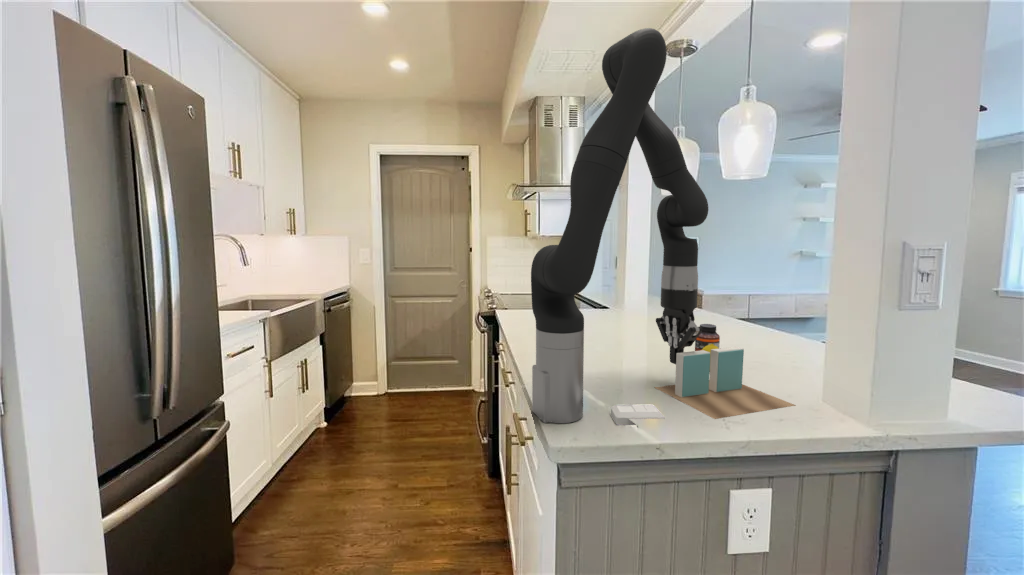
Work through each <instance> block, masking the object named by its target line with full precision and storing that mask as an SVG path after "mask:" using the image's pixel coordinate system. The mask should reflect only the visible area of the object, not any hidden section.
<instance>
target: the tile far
mask: <svg viewBox="0 0 1024 575" xmlns="http://www.w3.org/2000/svg"><path fill="white" fill-rule="evenodd" d="M744 352H745V350H744V348H742V347H739V346H731V347H721V348H720V347H719V349H711V358H710V372H709V390H712V391H714V392H722V391H729V390H736V389H741V388H742V384H743V373H744V372H743V370H744V356H745V355H744Z"/></svg>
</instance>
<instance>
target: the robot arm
mask: <svg viewBox="0 0 1024 575" xmlns="http://www.w3.org/2000/svg"><path fill="white" fill-rule="evenodd" d="M667 51H668V50H667V44H666V40H665V38H664V37H663V34H662V33H661V32H660V31H658V30H657V29H655V28H652V27H645V28H640V29H639V30H636V31H634V32H632V33H630V34H627V36H625V37H623V38H622V39H620V40H618V41H616V42H615V43H613V44H612V45H610V47H608V49H607V50H605V52H604V54H603V57H602V62H601V70H602V71H601V72H602V74H603V77H604V81H605V83H606V85H607V87H608V88H609V90H610V92H611V94H612V95H611V98H610V99H609V101H608V103H607V104H606V105H605V107H604V109H603V110H602V111H601V113H599V115H598V116H597V118H596V119H595V121H594V122H593V124H592V126H591V127H590V128H589V129H588V131H587V133H586V134H585V136H584V138H583V139H582V142H581V144H580V147H579V149H578V153H577V155H576V157H575V161H574V164H573V167H572V170H571V173H570V174H571V175H570V181H569V182H570V184H569V185H570V187H569V190H570V192H569V193H570V208H569V209H570V211H569V216H568V220H567V223H566V226H565V228H564V231H563V233H562V236H561V239H560V241H559V242H558V244H549V245H546V246H544V247H542V248H540V249H539V250H538V251H537V252H536V254H535V255H534V256H533V257H534V258H533V259H532V263H531V266H530V267H531V269H530V270H531V272H530V288H531V289H530V290H531V308H532V313H533V316H534V319H535V320H534V321H535V364H533V365H532V366H531V367H532V368H531V369H532V376H531V377H532V382H531V383H532V386H531V389H532V393H531V394H532V397H531V398H532V400H531V401H532V404H531V405H532V412H533V413H534V415H536V416H537V418H538V419H539V420H540V421H542V423H555V424H569V423H572V422H573V423H574V422H576V421H578V420H580V419H582V418H583V417H584V416H583V415H584V354H585V353H584V352H585V350H584V349H585V348H584V347H585V346H584V344H585V318H584V314H583V313H582V311H581V310H580V309H579V307H578V305H577V303H576V300H575V296H576V295H578V294H580V293H581V292H582V291H584V290H585V288H587V286H588V284H589V282H590V281H591V279H592V276H593V272H594V269H595V265H596V261H597V256H598V253H599V250H600V249H599V248H600V244H601V240H602V236H603V232H604V228H605V225H606V222H607V220H608V217H609V215H610V210H611V207H612V204H613V202H614V199H615V196H616V193H617V190H618V187H619V185H620V182H621V180H622V177H623V173H624V171H625V168H626V166H627V163H628V160H629V156H630V154H631V149H632V146H633V144H634V141H635V139H636V140H637V142H638V144H639V146H640V148H641V151H642V154H643V156H644V159H645V163H646V165H647V167H648V171H649V173H650V175H651V179H652V181H653V183H654V185H655V187H656V188H657V189H659V190H665V191H668V192H669V193H670V195H666V196H664V197H663V198H662V199H661V200H660V201H659V204H658V207H657V210H656V220H657V224H658V228H659V234H660V238H661V242H662V245H663V246H662V247H663V256H662V257H663V260H662V261H663V263H662V271H661V272H662V273H661V279H660V280H661V283H660V306H661V307H662V309H663V311H662V316H661V317H656V318H655V323H656V325H657V327H658V330H659V333H660V335H661V338H662V340H663V342H664V343H665V342H666V343H667V344H668V346H669V361H670V362H669V363H671V364H674V365H676V353H682V352H685V351H684V350H685V348H687V347H689V348H690V347H691V346H693V345H694V344H695V340H696V339H697V337H698V336H699V335H700V333H701V332H702V327H700V326H698V325H697V324H696V322H695V315H694V314H695V313H694V310H695V309H697V308H698V294H699V293H698V292H699V291H698V289H699V287H698V286H699V271H698V263H699V262H698V260H699V244H698V243H699V242H697V240H696V239H693V238H690V237H687V236H686V235H685V232H684V228H685V227H686V228H687V227H697V226H700V225H702V224H703V223H704V222H705V221H706V219H707V218H708V214H709V202H708V198H707V197H706V194H705V193H704V191H703V189H702V188H701V187H700V185H699V184H698V182H697V181H696V179H695V178H694V176H693V175H692V173H691V172H690V171H689V169H688V167H687V166H688V165H687V163H686V160H685V157H684V155H683V152H682V147H681V145H680V143H679V140H678V139H677V137H676V136H675V133H674V132H673V131H672V130H671V129H670V128H669V127H668V125H667V124H665V122H664V121H663V119H661V118H660V117H659V116H658V115H657V114H656V112H655V110H654V109H653V108H652V106H651V105H650V103H649V102H650V101H651V99H652V96H653V95H654V91H655V90H656V88H657V85H659V84H658V83H659V82H660V79H661V77H662V74H663V72H664V69H665V67H666V61H667Z"/></svg>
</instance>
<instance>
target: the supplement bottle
mask: <svg viewBox="0 0 1024 575" xmlns="http://www.w3.org/2000/svg"><path fill="white" fill-rule="evenodd" d="M716 325H717V324H716ZM716 325H715V324H711V323H701V324H699V327H702V332H701V333H700V335H699V336H698V337H697V339H696V340H695V341H694V351H701V350H702V349H703V348H704V347H705V346H707V345H710V344H714V345H715V346H717V347H718V348H720V339H721V336H720V334H719V333H718V332H717V326H716Z"/></svg>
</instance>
